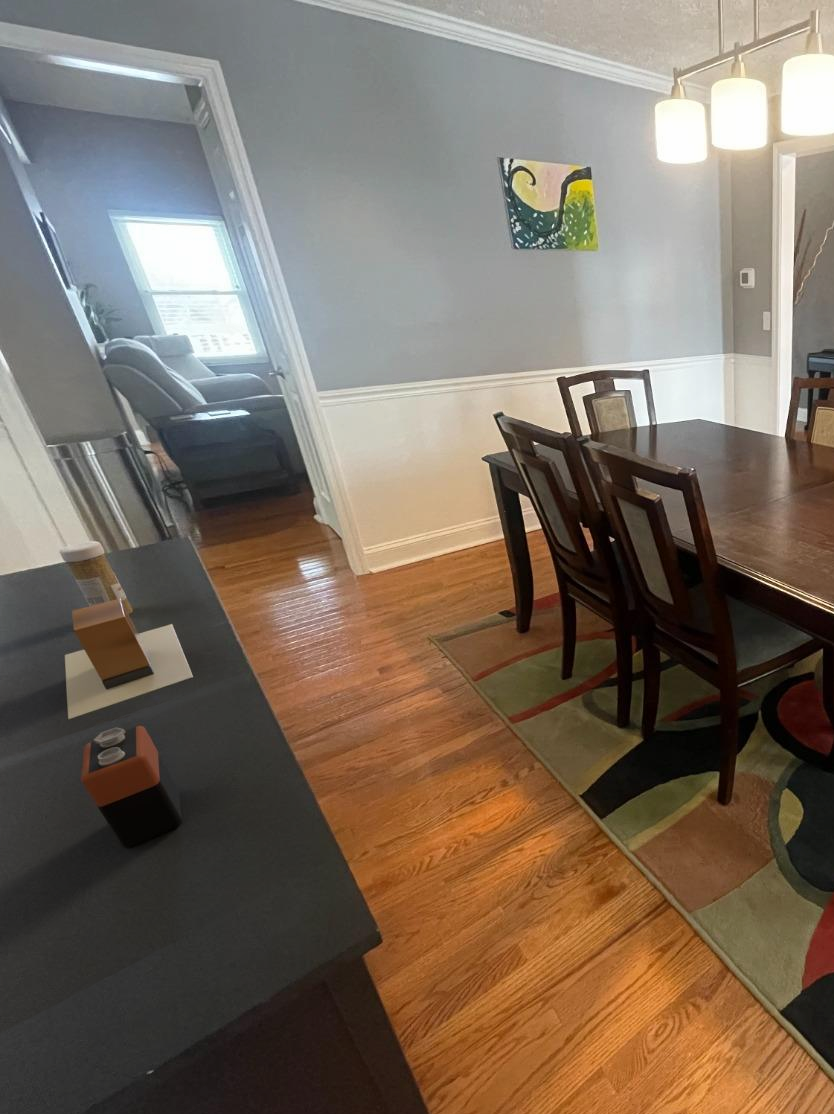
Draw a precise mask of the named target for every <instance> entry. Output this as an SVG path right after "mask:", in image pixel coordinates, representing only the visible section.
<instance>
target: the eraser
mask: <svg viewBox="0 0 834 1114" xmlns="http://www.w3.org/2000/svg"><path fill="white" fill-rule="evenodd" d="M71 616H72V617H71V618H72V626H73V627H72V628H73V632H74V634H75V636H76V638H77V639H78V641H79V643H80V645H81V646H82V648H83V650H85V652H86V653H87V655H88V657H89V659H90V661H91V662H92V664H93V666H94V668H95V669H96V671H97V673H98V675H99V677H100V678H101V680H102V683H103V685H104V687H105V688H106V689H109V688H112V687H115V686H118V685H121V684H125V683H128V682H131V681H134V680H137V679H140V678H143V677H146V676H149V675H152V674H154V672H153V668H152V665H151V662H150V658H149V655H148V652H147V649H146V647H145V645H144V644H143V642H142V640H141V638H140V636H139V632H138V630H137V628H136V627H135V624H134V622H133V621H132V619H131V617H130V614H128V613H127V611H126V609H125V607H124V605H123V603H122V601H121V599H116V600H112V601H109V602H105V603H101V604H97V605H93V606H89V605H88V606H85V607H82V608H77V609H73V610H71Z"/></svg>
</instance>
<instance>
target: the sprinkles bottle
mask: <svg viewBox="0 0 834 1114" xmlns="http://www.w3.org/2000/svg"><path fill="white" fill-rule="evenodd" d="M59 554H60V556H61V558H62V560H63V562H65V563H66V565H68V568H69V569H70V571H71V573H72V576H73V577H74V580H75V582H76V584H77V585H78V588H79V589H80V591H81V593H82V595H83V597H84V599H85V601H86V602H87V604H88V607H89V606H93V605H97V604H101V603H105V602H109V601H112V600H116V599H121V601H122V603H123V605H124V607H125V609H126V611H127V613H128V615H130V614H132V613H133V611H134V609H133V607H132V606H131V604H130V602H129V599H128V598H127V595H126V593H125V591H124V589H123V588H122V586H121V584H120V581H119V579H118V578H117V576H116V573H115V572H114V571H113V569H112V567H111V565H110V563H109V561H108V559H107V558H106V554H105V549H104V547H103V545H102V544H101V542H100V541H95V540H92V541H91V540H90V541H83V542H78V543H73V544H70V545H66V546H64V547H62V548H61V549H60V550H59Z"/></svg>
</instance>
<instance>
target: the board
mask: <svg viewBox="0 0 834 1114" xmlns="http://www.w3.org/2000/svg"><path fill="white" fill-rule="evenodd" d="M138 634H139V636H140V638H141V640H142V642H143V644H144V645H145V647H146V649H147V652H148V655H149V658H150V662H151V665H152V668H153V672H154V674H152V675H149V676H146V677H143V678H140V679H137V680H134V681H131V682H128V683H125V684H121V685H118V686H115V687H112V688H109V689H106V688H105V687H104V685H103V683H102V680H101V678H100V677H99V675H98V673H97V671H96V669H95V668H94V666H93V664H92V662H91V661H90V659H89V657H88V655H87V653H86V652H85V650H84V649H80V650H77V651H74V652H71V653H66V654H64V666H65V670H64V671H65V682H66V683H65V687H66V688H65V689H66V704H67V719H68V720H71V719H74V718H77V717H79V716H83V715H85V714H88V713H92V712H95V711H97V710H101V709H103V708H106V707H109V706H112V705H116V704H118V703H121V702H124V701H126V700H130V699H133V698H136V697H138V696H141V695H144V694H148V693H150V692H154V691H156V690H159V689H162V688H165V687H168V686H171V685H174V684H177V683H180V682H183V681H185V680H189V679H191V678H194V676H193V673H192V670H191V668H190V665H189V663H188V661H187V658H186V656H185V653H184V649H183V648H182V646H181V643H180V640H179V638H178V635H177V633H176V631H175V628H174V625H173V623H171V624H167V625H164V626H160V627H157V628H153V629H149V630H146V631H143V632H140V633H139V632H138Z"/></svg>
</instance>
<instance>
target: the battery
mask: <svg viewBox="0 0 834 1114" xmlns="http://www.w3.org/2000/svg"><path fill="white" fill-rule="evenodd" d="M80 781H81V783H82V785H83V787H84V788H85V789H86V791H87V793H88V794H89V795H90V797H91V799H92V800H93V802H94V803H95V805H96V806H97V808H98V810H99V812H100V813H101V815H102V816H103V818H104V819H105V821H106V822H107V824H108V825H109V827H110V829H111V830H112V832H113V833H114V835H115V836H116V838H117V840H118V841H119V843H120V845H121V846H122V847H123V848H125V849H129V848H131V847H132V848H133V847H134V846H136V845H139V844H142V843H144V842H145V841H149V840H150V839H153V838H154V837H157V836H160V835H161V834H164V833H166V832H169V831H170V830H173V829H176V828H178V827H179V826H181V825H182V810H181V809H182V808H181V798H180V791H179V788H178V786H177V784H176V782H175V780H174V778H173V776H172V775H171V773H170V771H169V769H168V768H167V766H166V764H165V762H164V761H163V758H162V756H161V755H160V753H159V751H158V750H157V748H156V746H155V744H154V743H153V740H152V738H151V737H150V735H149V733H148V731H147V729H146V728H145V727H144V726H142V725H138V726H135V727H131V728H128V729H126V730H125V729H124V728H121V727H113V728H111V729H108V730H105V731H101V732H100V733H99V734H98V735H97V736H96V737H95V738H94V739H93V741H91V742H89V743H86V745H84V748H83V756H82V766H81V775H80Z"/></svg>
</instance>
